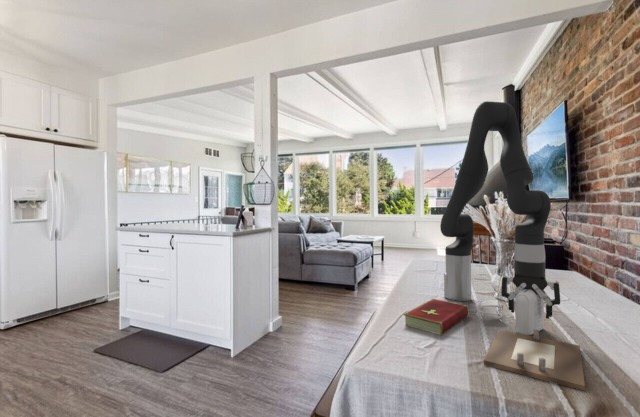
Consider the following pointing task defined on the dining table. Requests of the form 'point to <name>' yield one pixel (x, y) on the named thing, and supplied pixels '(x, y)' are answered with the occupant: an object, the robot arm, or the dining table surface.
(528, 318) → the photo printer
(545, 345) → the walnut dock
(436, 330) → the hardcover book
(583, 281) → the dining table surface
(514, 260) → the robot arm
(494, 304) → the white arched piece
